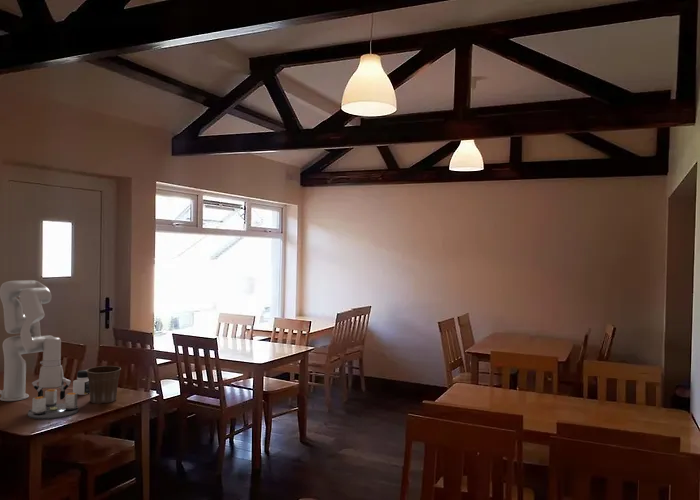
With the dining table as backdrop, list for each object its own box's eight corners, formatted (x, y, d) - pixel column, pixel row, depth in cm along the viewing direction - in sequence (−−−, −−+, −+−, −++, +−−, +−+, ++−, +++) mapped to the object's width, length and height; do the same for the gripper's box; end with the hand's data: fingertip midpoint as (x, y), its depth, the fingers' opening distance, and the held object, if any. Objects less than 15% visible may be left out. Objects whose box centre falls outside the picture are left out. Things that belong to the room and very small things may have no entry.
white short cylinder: (63, 410, 264) (64, 394, 264) (67, 407, 269) (68, 391, 269) (74, 410, 265) (75, 394, 265) (78, 407, 270) (79, 391, 270)
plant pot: (108, 406, 279) (109, 373, 279) (78, 403, 282) (79, 371, 282) (126, 397, 295) (127, 366, 295) (98, 395, 298) (98, 365, 298)
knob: (35, 415, 255) (36, 398, 255) (30, 413, 258) (30, 396, 258) (46, 413, 259) (47, 396, 259) (41, 411, 262) (41, 394, 262)
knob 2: (43, 406, 269) (43, 390, 269) (47, 403, 274) (48, 388, 274) (54, 406, 270) (54, 390, 270) (58, 403, 275) (58, 388, 275)
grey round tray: (19, 419, 254) (19, 414, 254) (39, 406, 275) (39, 401, 275) (68, 419, 257) (69, 413, 257) (84, 406, 278) (84, 401, 278)
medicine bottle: (84, 395, 298) (85, 372, 298) (72, 394, 300) (73, 371, 300) (93, 391, 305) (93, 369, 305) (81, 391, 307) (82, 368, 307)
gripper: (29, 365, 267) (28, 401, 267) (68, 364, 269) (67, 400, 269) (36, 362, 275) (35, 397, 274) (73, 361, 277) (73, 396, 277)
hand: (51, 399), depth 272 cm, fingers open, 9 cm apart
